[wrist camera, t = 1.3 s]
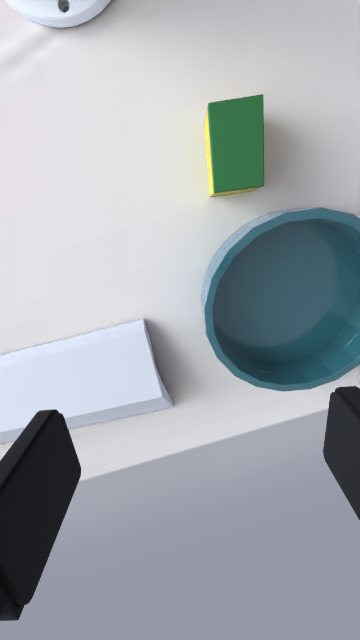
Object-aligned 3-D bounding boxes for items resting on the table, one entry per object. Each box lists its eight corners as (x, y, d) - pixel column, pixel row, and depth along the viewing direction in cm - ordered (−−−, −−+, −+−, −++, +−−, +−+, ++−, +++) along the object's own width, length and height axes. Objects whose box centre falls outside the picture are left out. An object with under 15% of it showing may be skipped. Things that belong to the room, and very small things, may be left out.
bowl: (193, 223, 26) (195, 224, 22) (374, 199, 25) (417, 194, 21) (208, 372, 33) (212, 398, 28) (354, 358, 32) (383, 382, 27)
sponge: (204, 123, 23) (208, 102, 19) (249, 116, 23) (263, 93, 19) (209, 196, 26) (214, 192, 21) (251, 191, 25) (264, 185, 21)
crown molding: (144, 319, 30) (139, 332, 27) (173, 403, 34) (172, 423, 31) (-72, 375, 34) (-100, 393, 30) (-21, 446, 38) (-41, 468, 34)
